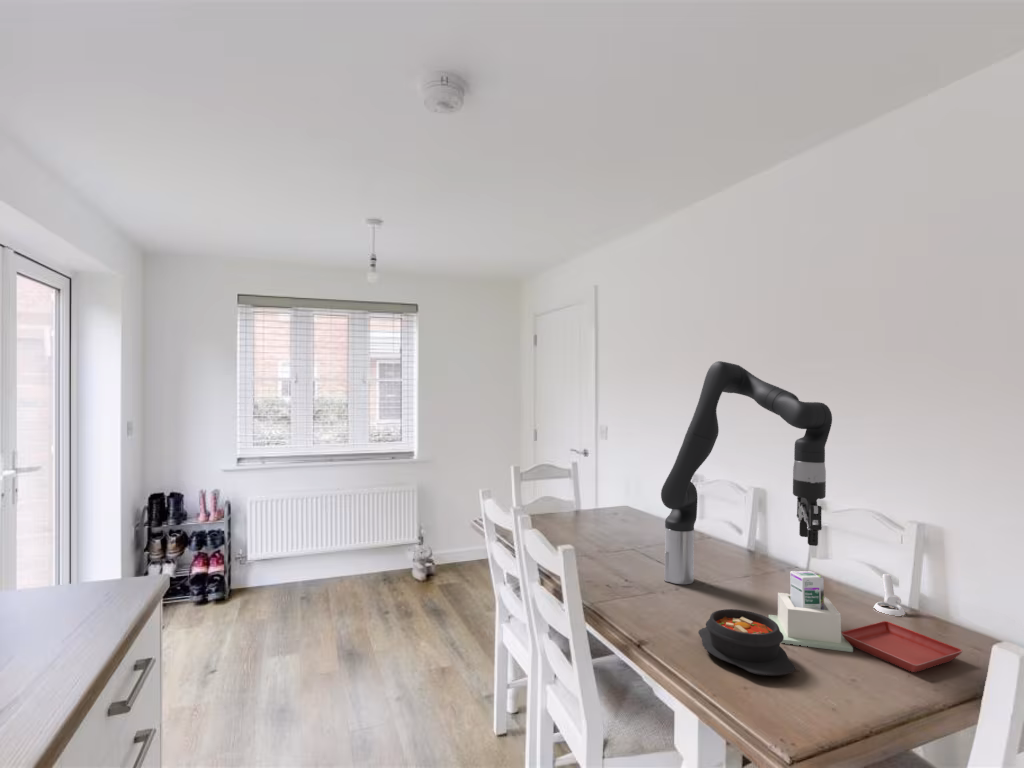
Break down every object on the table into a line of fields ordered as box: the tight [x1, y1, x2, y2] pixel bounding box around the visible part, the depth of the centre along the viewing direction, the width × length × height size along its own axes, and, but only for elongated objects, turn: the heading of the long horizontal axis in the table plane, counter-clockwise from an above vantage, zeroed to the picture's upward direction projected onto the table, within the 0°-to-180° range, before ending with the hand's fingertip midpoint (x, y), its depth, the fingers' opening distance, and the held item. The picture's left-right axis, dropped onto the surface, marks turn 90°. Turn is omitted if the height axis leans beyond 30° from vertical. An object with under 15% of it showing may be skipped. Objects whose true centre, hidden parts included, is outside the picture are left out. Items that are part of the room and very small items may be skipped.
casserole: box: [698, 608, 796, 677], centre depth 129 cm, size 25×19×8 cm
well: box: [767, 592, 854, 653], centre depth 142 cm, size 16×16×8 cm
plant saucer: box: [841, 620, 964, 673], centre depth 132 cm, size 18×18×3 cm
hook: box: [873, 573, 906, 617], centre depth 160 cm, size 8×12×7 cm
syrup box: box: [789, 570, 825, 610], centre depth 143 cm, size 6×6×14 cm
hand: (808, 540), depth 142 cm, fingers open, 8 cm apart
